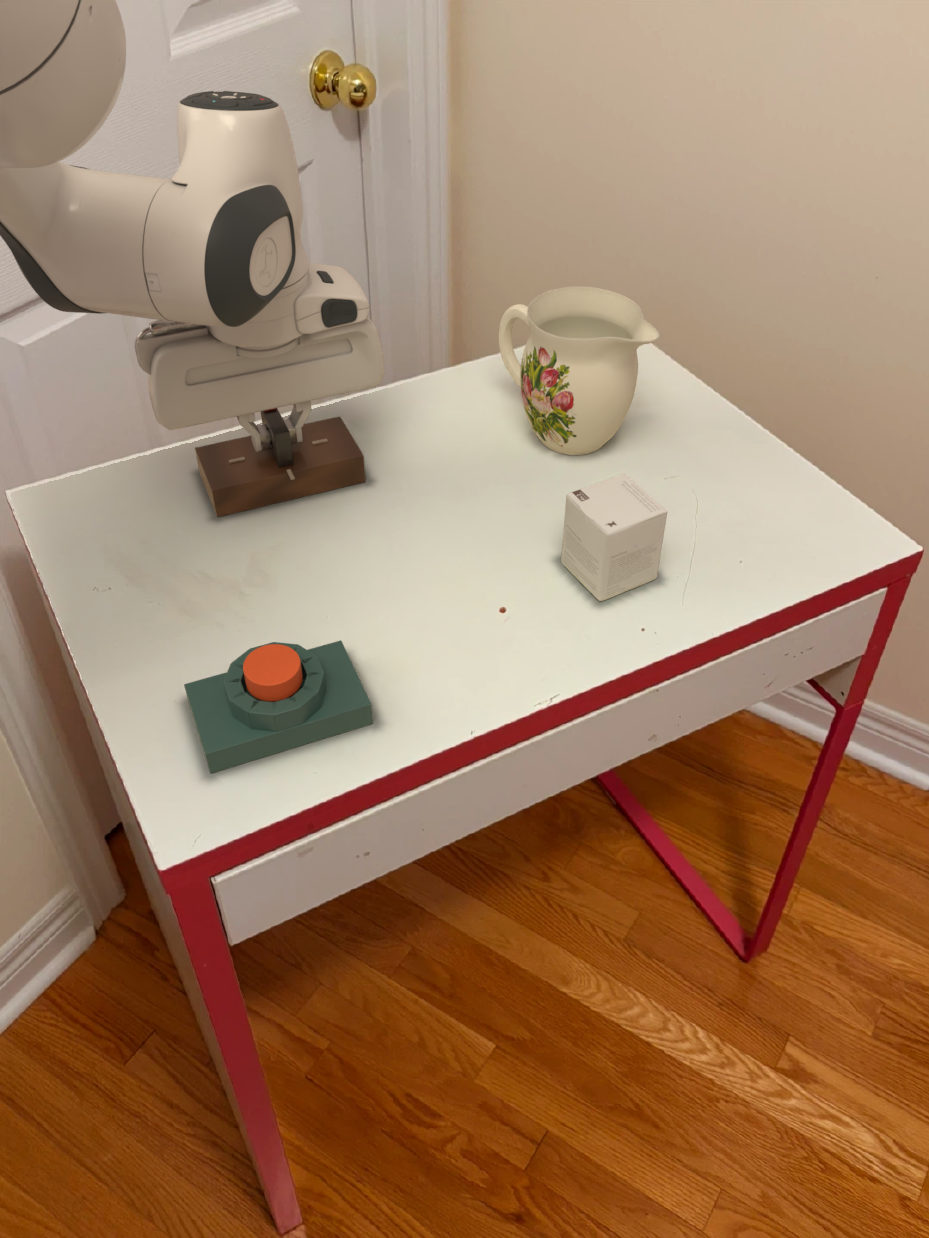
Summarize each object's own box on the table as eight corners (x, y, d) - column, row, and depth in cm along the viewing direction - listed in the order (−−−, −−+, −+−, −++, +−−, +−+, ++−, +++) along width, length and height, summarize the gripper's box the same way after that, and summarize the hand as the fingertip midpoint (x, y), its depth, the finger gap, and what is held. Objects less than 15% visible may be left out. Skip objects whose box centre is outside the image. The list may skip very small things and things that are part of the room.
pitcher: (534, 376, 111) (542, 252, 102) (671, 446, 102) (694, 317, 93) (461, 417, 106) (462, 289, 96) (600, 494, 97) (616, 362, 87)
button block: (210, 773, 73) (200, 737, 70) (189, 703, 78) (179, 667, 75) (372, 724, 77) (370, 687, 74) (343, 659, 81) (339, 623, 78)
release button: (254, 708, 73) (250, 691, 72) (240, 669, 76) (236, 652, 74) (309, 692, 74) (307, 675, 73) (293, 654, 77) (291, 637, 75)
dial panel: (219, 524, 93) (214, 496, 91) (197, 467, 99) (191, 439, 97) (369, 488, 97) (367, 460, 95) (339, 436, 103) (336, 408, 101)
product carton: (657, 580, 88) (670, 511, 83) (598, 604, 86) (608, 534, 81) (615, 539, 92) (625, 471, 87) (557, 561, 90) (564, 492, 85)
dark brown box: (293, 464, 94) (289, 429, 92) (278, 467, 94) (273, 432, 91) (278, 435, 98) (274, 400, 95) (264, 438, 97) (259, 403, 95)
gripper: (136, 345, 81) (170, 489, 90) (387, 298, 87) (393, 438, 96) (122, 308, 85) (156, 450, 95) (362, 265, 91) (371, 403, 100)
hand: (277, 443), depth 95 cm, fingers closed on dark brown box
